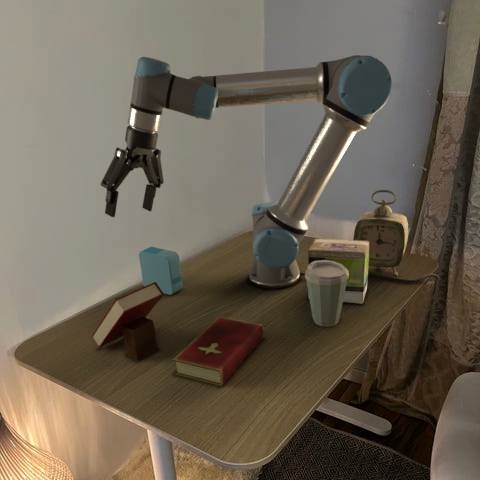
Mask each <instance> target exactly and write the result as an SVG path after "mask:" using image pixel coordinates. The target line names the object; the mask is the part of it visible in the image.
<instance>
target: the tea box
mask: <svg viewBox="0 0 480 480" xmlns="http://www.w3.org/2000/svg"><path fill="white" fill-rule="evenodd" d="M307 256H308V257H307V258H308V260H307V261H308V262H307V264H308V265H309V264H310V263H312V262H314V261H320V260H327V261H334V262H337V263H340V264H342V265H343V266H344V267H345V268H346V269H347V270H348V273H349V277H348V279H347V283H346V288H345V294H344V299H343V303H351V304H361V305H362V304H364V300H365V296H366V293H367V289H368V280H369V279H368V278H369V275H368V272H369V266H368V262H369V241H358V240H353V239H338V238H337V239H334V238H315V239H314V241H313V242H312V244H311V245H310V248H309V249H308V250H307ZM308 265H307V266H308ZM307 293H308V294H309V292H307ZM308 299H309V300H310V298H309V297H308Z"/></svg>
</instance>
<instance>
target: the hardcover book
mask: <svg viewBox="0 0 480 480" xmlns="http://www.w3.org/2000/svg"><path fill="white" fill-rule="evenodd" d="M264 331H265V330H264V326H263V324H260V323H255V322H250V321H245V320H239V319H234V318H229V317H224V316H219V317H217V318H216V319H215V320H213V322H212V323H211V324H210V325H208V326H207V328H205V329H204V330H203V331H202V332H201V333H200V334H198V336H197V337H195V338H194V340H192V341H191V342H190V343H189V344H188V345H187V346H186V347H185V348H184V349H182V350H181V351H180V352H179V353H178V354H177V355H176V356H175V357H174V358H173V359H172V361H173V362H175V365H176V371H175V372H174V374H175V375H176V376H180V377H184V378H188V379H191V380H194V381H195V380H196V381H199V382H203V383H208V384H211V385H216V386H220V387H222V386H223V385H224V384H225V382H227V380H228V379H229V378H230V377H231V376H232V374H234V372H235V371H236V370H237V369H238V368H239V367H240V365H242V363H243V362H244V361H245V359H246V358H247V357H248V356H249V355H250V354H251V353H252V352H253V351H254V349H255V348H256V347H257V346H258V345H259V343H260V342H261V341H263V339H264V333H265V332H264Z"/></svg>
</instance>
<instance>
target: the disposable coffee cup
mask: <svg viewBox="0 0 480 480" xmlns="http://www.w3.org/2000/svg"><path fill="white" fill-rule="evenodd" d="M304 273H305V276H304V278H305V280H306V285H307V291H308V292H309V293H308V292H307V293H308V299H309V298H310V299H309V304H310V311H311V316H312V320H313V323H315V324H316V325H317V326H320V327H333V326H336V325H337V324H338V323H339V321H340V319H341V313H342V309H343V304H344V302H343V299H344V294H345V288H346V283H347V279H348V277H349V273H348V270H347V269H346V268H345V267H344V266H343V265H342V264H340V263H337V262H334V261H327V260H320V261H314V262H312V263H310V264H309V265H307V268H306V269H305V272H304Z"/></svg>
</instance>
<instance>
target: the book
mask: <svg viewBox="0 0 480 480" xmlns="http://www.w3.org/2000/svg"><path fill="white" fill-rule="evenodd" d="M164 295H165V293H163V292H162V290H161V289H160V287H159V286H158V284H157V283H156V282H154V283H152V284H149V285H147V286H143V287H140V288H138V289H135V290H133V291H131V292H129V293H126V294H125V295H121V296H119V297H117V298H115V299H114V301H113V302H112V304H111V306H110V307H109V308H108V310H107V311H106V313H105V315H104V316H103V317H102V319H101V320H100V322H99V323H98V325H97V327H96V328H95V330H94V331H93V333H92V334H91V337H92V338H93V339H94V341H95V342H96V344H97V345H98V348H99V349H100V348H102V347H104V346H106V345H109V344H111V343H113V342H114V341H116V340H118V339H120V338H123V337H124V333H123V328H122V326H123V325H125V324H127V323H129V322H131V321H133V320H136V319H138V318H140V317H142V316H144V317H146V318H147V316H148V315H149V314H150V313H151V311H153V309H154V307H156V305H157V304H158V302H159V301H160V300H161V299H162V298H163V296H164Z"/></svg>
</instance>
